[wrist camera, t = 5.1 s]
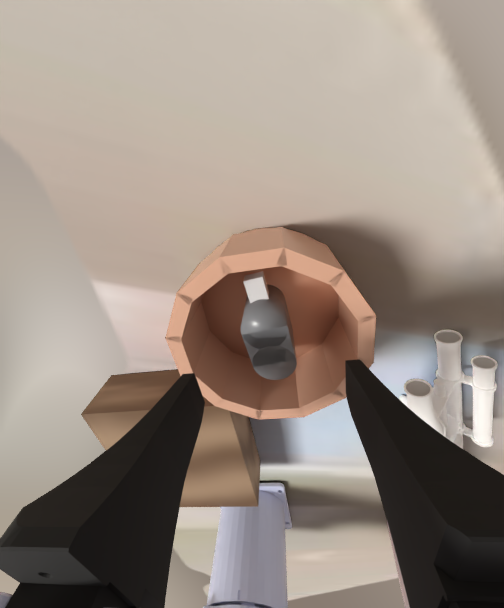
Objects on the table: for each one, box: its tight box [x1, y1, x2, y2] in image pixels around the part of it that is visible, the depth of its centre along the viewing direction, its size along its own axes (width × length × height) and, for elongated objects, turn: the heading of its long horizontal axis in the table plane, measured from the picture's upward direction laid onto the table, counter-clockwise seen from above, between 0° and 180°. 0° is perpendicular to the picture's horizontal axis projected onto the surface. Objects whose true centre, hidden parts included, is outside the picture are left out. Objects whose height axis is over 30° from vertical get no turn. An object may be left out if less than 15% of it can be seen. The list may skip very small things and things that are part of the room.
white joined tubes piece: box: [399, 329, 498, 449], centre depth 19 cm, size 8×14×5 cm
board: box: [81, 370, 260, 507], centre depth 23 cm, size 13×11×4 cm
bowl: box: [165, 227, 376, 420], centre depth 16 cm, size 11×11×5 cm
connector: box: [241, 271, 297, 380], centre depth 16 cm, size 6×3×3 cm, turn 16°
